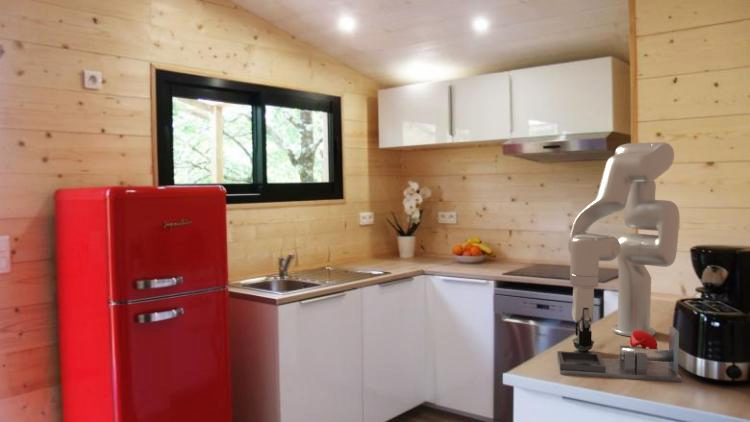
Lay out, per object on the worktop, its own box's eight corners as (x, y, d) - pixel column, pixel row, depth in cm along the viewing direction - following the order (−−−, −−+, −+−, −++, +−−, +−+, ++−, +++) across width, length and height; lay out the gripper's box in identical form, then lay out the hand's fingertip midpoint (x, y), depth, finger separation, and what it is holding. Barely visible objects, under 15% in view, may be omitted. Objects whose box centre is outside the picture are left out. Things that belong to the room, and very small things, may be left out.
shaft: (619, 361, 158) (620, 324, 158) (672, 364, 155) (673, 326, 155) (622, 367, 154) (623, 329, 153) (677, 371, 151) (679, 332, 150)
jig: (557, 359, 165) (557, 339, 165) (669, 366, 159) (669, 345, 159) (560, 373, 154) (560, 352, 153) (681, 382, 147) (682, 360, 147)
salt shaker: (595, 357, 167) (596, 314, 166) (573, 356, 168) (574, 313, 167) (592, 350, 173) (592, 309, 172) (570, 349, 174) (571, 309, 173)
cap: (622, 340, 172) (639, 333, 167) (630, 329, 176) (647, 322, 171) (641, 363, 171) (658, 357, 167) (648, 352, 175) (665, 345, 171)
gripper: (567, 275, 178) (566, 331, 180) (573, 286, 162) (572, 348, 163) (594, 275, 177) (593, 333, 178) (602, 287, 160) (601, 350, 161)
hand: (583, 340), depth 170 cm, fingers open, 9 cm apart
